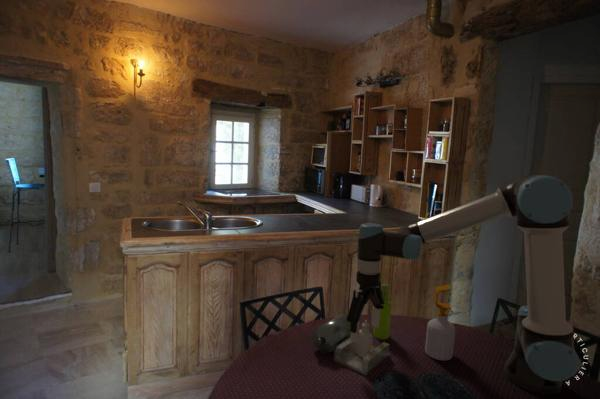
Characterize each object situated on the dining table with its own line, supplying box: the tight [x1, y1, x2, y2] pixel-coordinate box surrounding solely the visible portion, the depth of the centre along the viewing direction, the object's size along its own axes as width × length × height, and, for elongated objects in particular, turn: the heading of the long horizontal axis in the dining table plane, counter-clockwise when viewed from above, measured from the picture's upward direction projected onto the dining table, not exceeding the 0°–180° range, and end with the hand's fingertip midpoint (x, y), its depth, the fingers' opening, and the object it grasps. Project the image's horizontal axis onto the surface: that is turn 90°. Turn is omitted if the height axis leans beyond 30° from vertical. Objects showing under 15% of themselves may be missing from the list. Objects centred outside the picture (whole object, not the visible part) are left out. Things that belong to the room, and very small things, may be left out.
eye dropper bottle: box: [355, 319, 374, 358], centre depth 123 cm, size 4×6×12 cm
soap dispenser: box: [372, 283, 393, 340], centre depth 138 cm, size 6×7×20 cm
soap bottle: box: [424, 284, 456, 361], centre depth 127 cm, size 9×9×25 cm
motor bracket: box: [311, 313, 391, 377], centre depth 125 cm, size 22×18×9 cm
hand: (365, 333), depth 122 cm, fingers open, 13 cm apart
